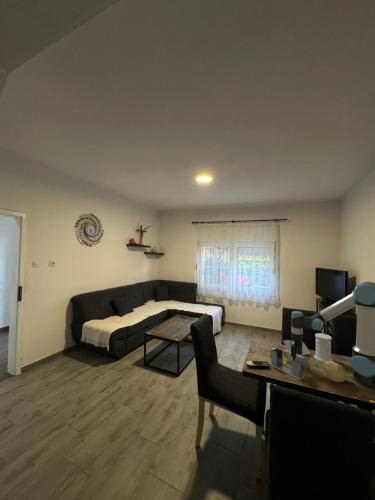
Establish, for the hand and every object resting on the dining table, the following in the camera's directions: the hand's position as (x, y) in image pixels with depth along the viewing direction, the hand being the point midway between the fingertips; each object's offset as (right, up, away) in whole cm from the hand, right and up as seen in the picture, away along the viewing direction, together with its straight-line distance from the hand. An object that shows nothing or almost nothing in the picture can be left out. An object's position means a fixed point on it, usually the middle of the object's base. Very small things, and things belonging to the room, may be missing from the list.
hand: (296, 364), depth 154 cm
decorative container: (+26, -1, +9) cm, 27 cm away
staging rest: (0, 0, 0) cm, 0 cm away
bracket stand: (-10, 0, -7) cm, 13 cm away
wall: (+11, -1, +20) cm, 22 cm away
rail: (0, +3, 0) cm, 3 cm away
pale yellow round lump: (+16, 0, -17) cm, 23 cm away
